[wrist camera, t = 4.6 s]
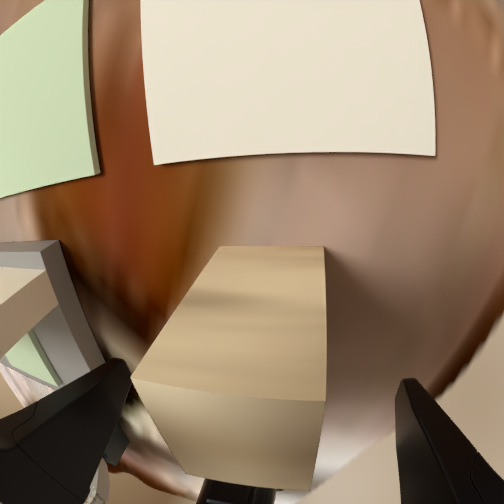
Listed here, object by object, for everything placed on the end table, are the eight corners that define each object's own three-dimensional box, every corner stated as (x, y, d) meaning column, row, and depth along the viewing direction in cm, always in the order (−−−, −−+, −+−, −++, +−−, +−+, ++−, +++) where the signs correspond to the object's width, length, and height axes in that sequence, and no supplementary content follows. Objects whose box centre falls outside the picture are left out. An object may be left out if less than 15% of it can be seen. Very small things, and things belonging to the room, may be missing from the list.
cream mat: (431, 154, 9) (435, 155, 8) (159, 163, 11) (154, 165, 11) (391, -74, 5) (393, -78, 4) (145, -49, 7) (141, -52, 7)
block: (319, 347, 13) (309, 490, 7) (234, 343, 14) (185, 473, 8) (323, 246, 11) (326, 401, 5) (219, 246, 12) (130, 377, 6)
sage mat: (100, 173, 12) (94, 174, 11) (-6, 199, 14) (-10, 200, 13) (90, -23, 8) (85, -25, 7) (-17, 56, 10) (-22, 56, 9)
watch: (57, 385, 21) (-5, 468, 11) (127, 414, 20) (67, 523, 10) (79, 420, 23) (30, 496, 13) (146, 447, 22) (100, 540, 12)
